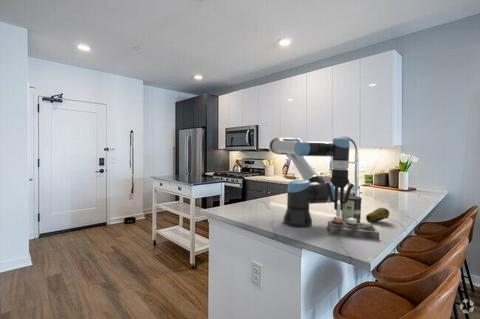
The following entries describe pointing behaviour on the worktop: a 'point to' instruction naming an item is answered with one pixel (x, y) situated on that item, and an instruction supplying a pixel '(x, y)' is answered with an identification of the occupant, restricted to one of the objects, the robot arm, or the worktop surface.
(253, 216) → the worktop surface
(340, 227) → the button board
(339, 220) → the button terracotta
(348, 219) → the button cream
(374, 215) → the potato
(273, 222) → the worktop surface
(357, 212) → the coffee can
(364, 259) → the worktop surface
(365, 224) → the button sage
